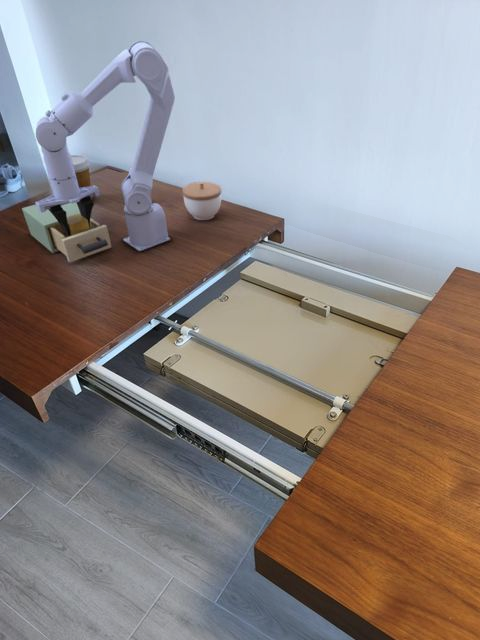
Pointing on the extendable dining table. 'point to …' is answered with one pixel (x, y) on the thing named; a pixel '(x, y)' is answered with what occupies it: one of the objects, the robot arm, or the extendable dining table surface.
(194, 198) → the trinket box
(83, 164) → the disposable coffee cup
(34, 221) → the cabinet
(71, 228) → the block
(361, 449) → the extendable dining table surface
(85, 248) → the drawer
